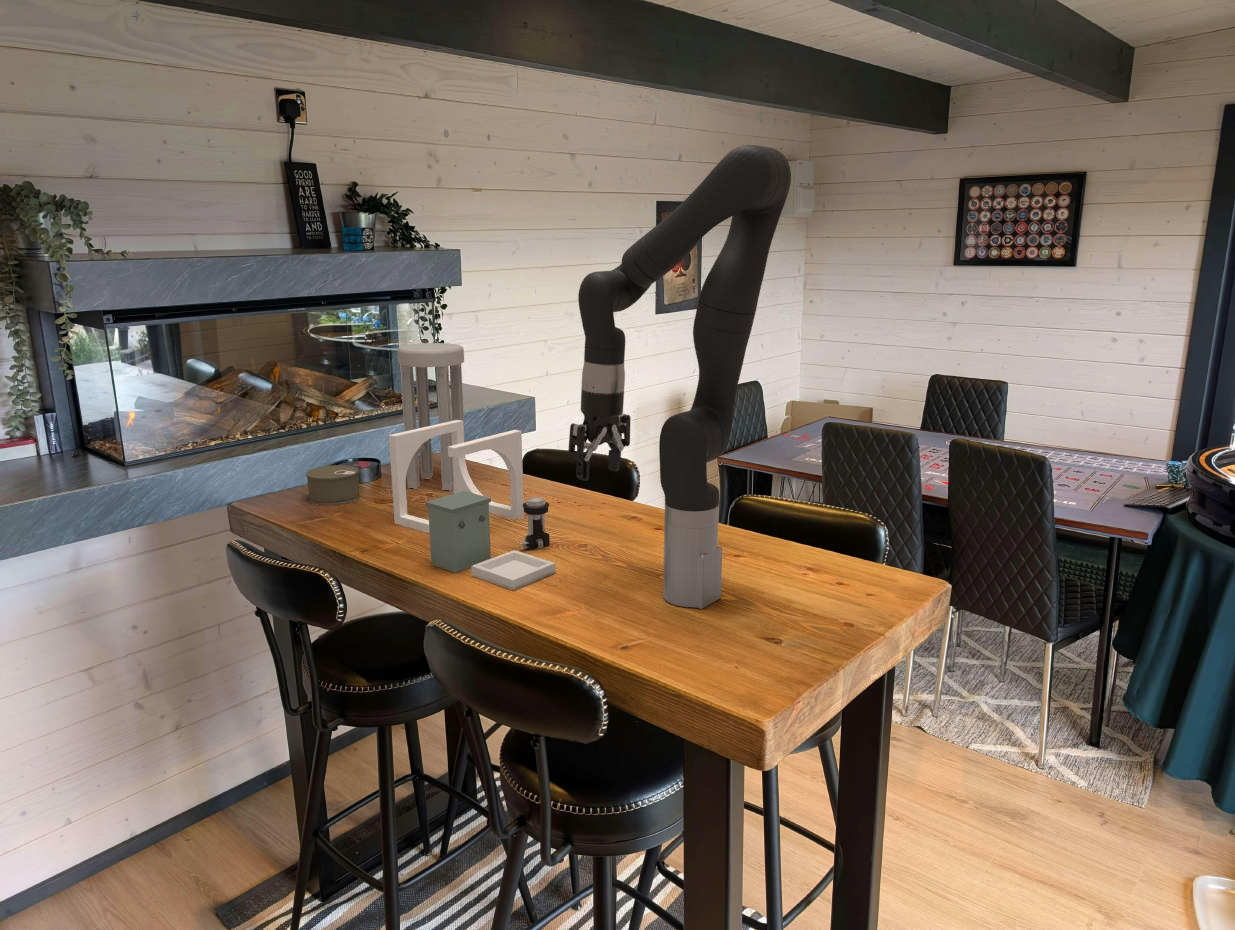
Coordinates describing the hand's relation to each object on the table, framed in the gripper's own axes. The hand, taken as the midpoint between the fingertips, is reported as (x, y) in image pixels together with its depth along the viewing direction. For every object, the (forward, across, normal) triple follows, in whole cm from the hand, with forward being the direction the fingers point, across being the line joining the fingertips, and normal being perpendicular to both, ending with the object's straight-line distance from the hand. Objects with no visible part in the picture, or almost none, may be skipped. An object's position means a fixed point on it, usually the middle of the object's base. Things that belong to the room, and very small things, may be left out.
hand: (598, 475), depth 159 cm
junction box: (+21, -12, +24) cm, 34 cm away
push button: (+21, +4, +19) cm, 29 cm away
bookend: (+23, +6, +44) cm, 50 cm away
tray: (+20, -10, +12) cm, 25 cm away
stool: (+24, +21, +71) cm, 78 cm away
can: (+25, -3, +80) cm, 84 cm away
